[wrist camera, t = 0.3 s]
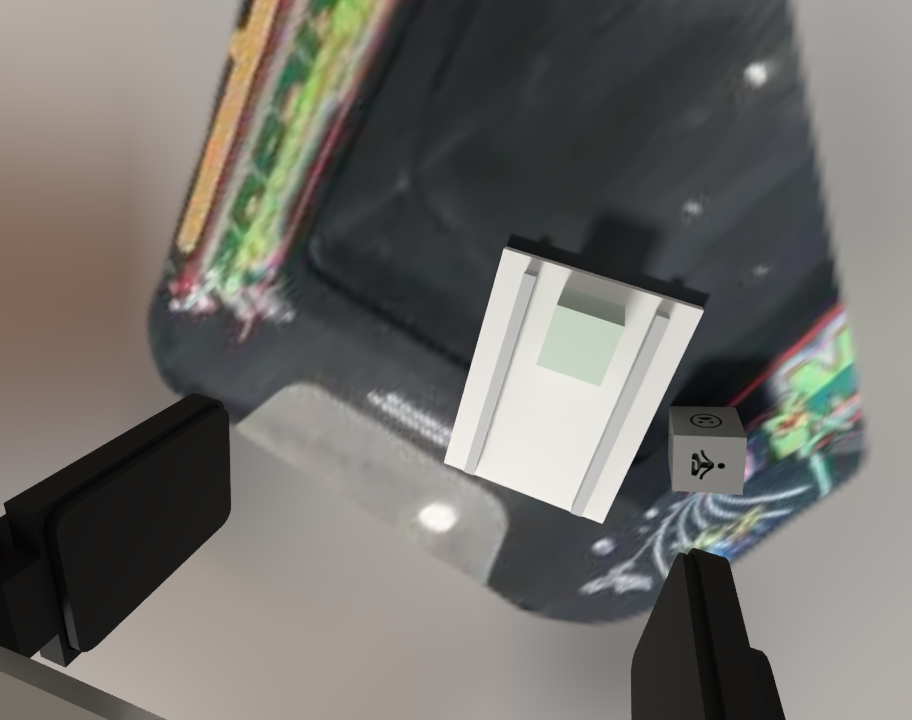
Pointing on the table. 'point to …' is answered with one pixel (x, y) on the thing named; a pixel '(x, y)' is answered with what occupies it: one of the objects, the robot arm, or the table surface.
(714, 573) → the robot arm
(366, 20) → the table surface
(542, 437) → the rail board
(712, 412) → the dice cube
